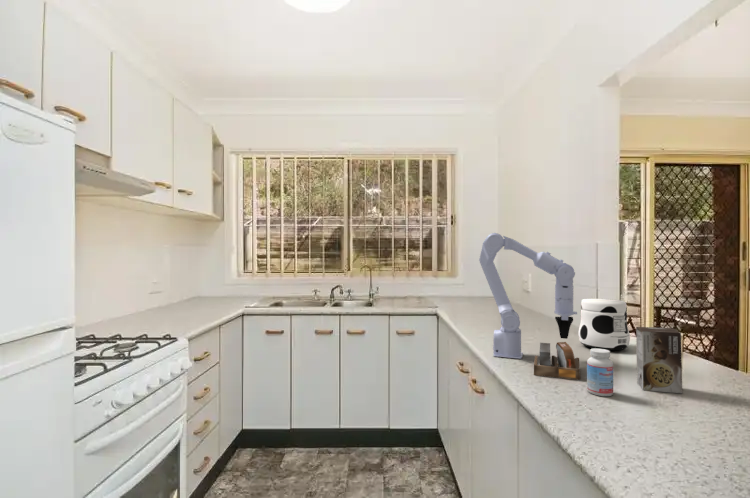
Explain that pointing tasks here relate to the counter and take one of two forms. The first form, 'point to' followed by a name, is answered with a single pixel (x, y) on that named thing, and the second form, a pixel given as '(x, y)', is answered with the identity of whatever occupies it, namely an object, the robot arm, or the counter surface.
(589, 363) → the pill bottle
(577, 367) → the rack
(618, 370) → the counter surface
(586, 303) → the milk container
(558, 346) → the tin
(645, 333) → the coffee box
